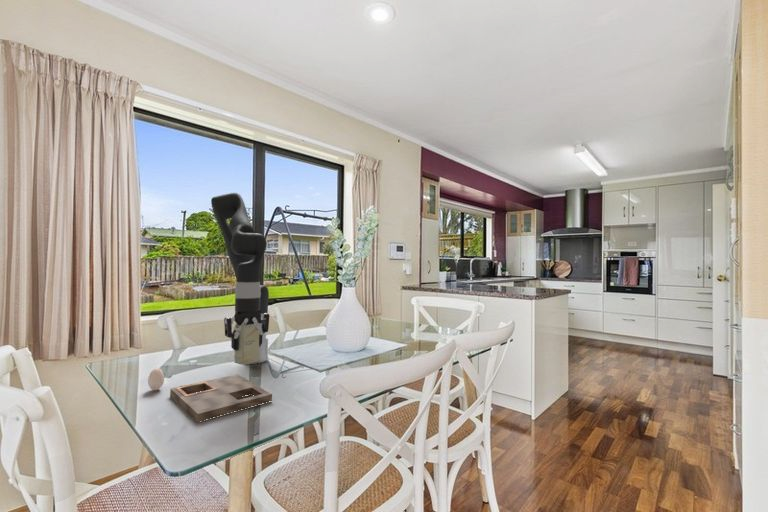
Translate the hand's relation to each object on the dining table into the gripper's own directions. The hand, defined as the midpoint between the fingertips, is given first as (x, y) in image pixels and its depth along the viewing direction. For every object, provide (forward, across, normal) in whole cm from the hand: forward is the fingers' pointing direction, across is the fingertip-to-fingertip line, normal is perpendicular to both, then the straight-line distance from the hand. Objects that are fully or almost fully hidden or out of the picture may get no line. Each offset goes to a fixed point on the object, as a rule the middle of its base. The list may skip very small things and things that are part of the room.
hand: (246, 348), depth 116 cm
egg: (+17, +18, -29) cm, 38 cm away
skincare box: (+5, 0, 0) cm, 5 cm away
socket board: (+17, +5, -7) cm, 19 cm away
